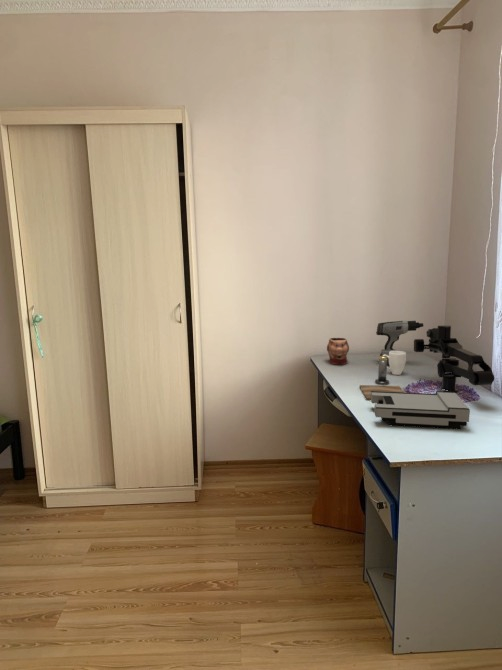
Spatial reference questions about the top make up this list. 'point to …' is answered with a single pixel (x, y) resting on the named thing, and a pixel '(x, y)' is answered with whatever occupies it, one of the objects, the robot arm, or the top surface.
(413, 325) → the cordless drill
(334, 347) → the decorative planter
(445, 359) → the robot arm
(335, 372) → the top surface
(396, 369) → the mug
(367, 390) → the board
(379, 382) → the grey cylinder with base
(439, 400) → the retro console
